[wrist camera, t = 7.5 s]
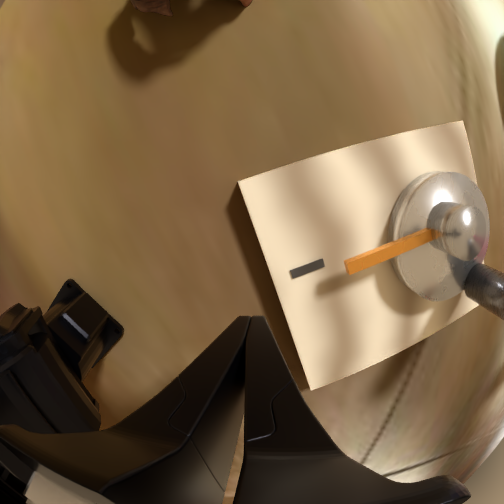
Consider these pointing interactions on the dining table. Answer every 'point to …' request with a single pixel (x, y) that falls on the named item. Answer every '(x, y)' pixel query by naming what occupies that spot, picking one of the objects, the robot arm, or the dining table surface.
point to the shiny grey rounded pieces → (440, 242)
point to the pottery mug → (162, 6)
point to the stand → (350, 248)
